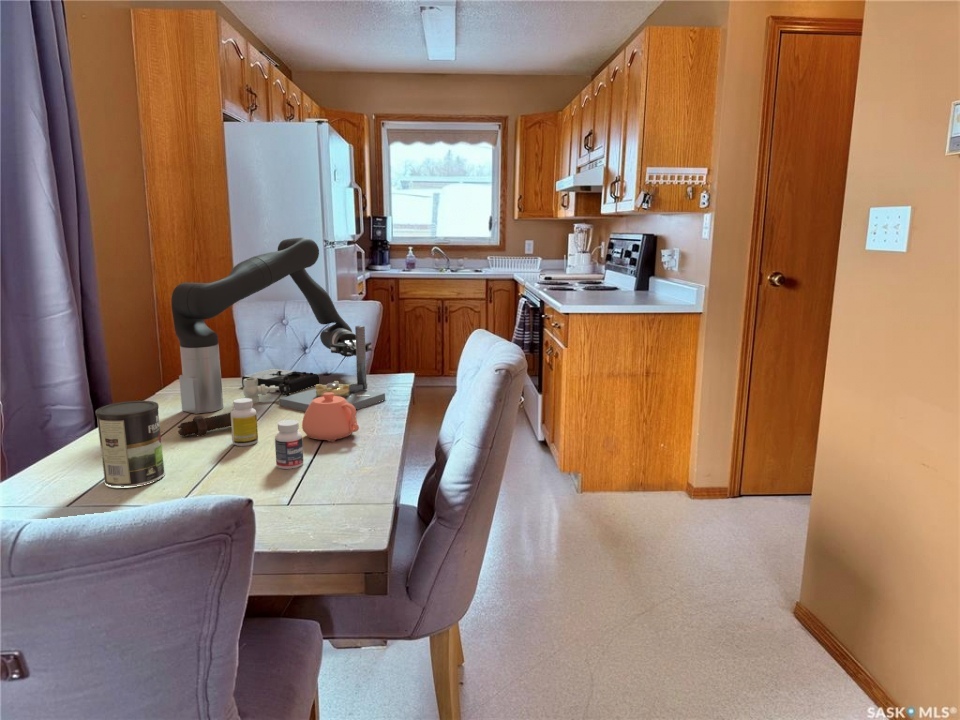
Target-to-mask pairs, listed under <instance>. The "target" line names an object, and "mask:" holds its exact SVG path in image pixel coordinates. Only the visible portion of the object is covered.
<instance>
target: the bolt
mask: <svg viewBox="0 0 960 720" xmlns="http://www.w3.org/2000/svg"><path fill="white" fill-rule="evenodd" d="M231 412H232V411H230V412H227V413H222V414H217V415H214V416H210V417H209V416H208V417H204V416H203V415H195V416H193V418H192V420H191V421H185V422H181V423H180V424H179V425H178V426H177V429H179V430H178V431H177V433H178V435H179V436H181V437H182V438H183V437H186V436H187V437H188V436H192V435H195V436H197V435H198V436H197V437H203V436H202V435H204V436H206V435H207V433H208V432H210V431H214V430H219V429H225V428H228V427H231Z"/></svg>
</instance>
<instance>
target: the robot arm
mask: <svg viewBox="0 0 960 720" xmlns="http://www.w3.org/2000/svg"><path fill="white" fill-rule="evenodd" d="M319 257H320V249H319V246H318V244H317V243H316V242H315V241H314V240H313V239H312V238H310V237H309V238H308V237H304V236H303V237H294V238H287V239H283V240H282V241H280V243H278V246H277V251H271V252H266V253H262V254H258V255H255V256H252V257H249V258H247V259H245V260H242V261H241V262H239V263H237V264H236V265H234V267H233V268H232V269H231V271H230V272H229V275H227V276H226V277H224V278H222V279H218V280H215V281H212V282H182V283H179V284H178V285H176V286H175V288H173V291H172V294H171V299H170V300H171V301H170V303H171V313H172V320H173V326H174V332H175V335H176V338H178V342H179V349H180V361H181V362H180V363H181V373H182V374H180V375H179V376H178V379H179V389H180V390H179V391H180V401H181V411H183V412H187V413H190V414H194V415H198V414H204V413H205V414H206V413H212V412H217V411H219V410H222V409H223V408H224V398H223V397H224V396H223V386H222V385H223V383H222V373H221V371H222V370H221V358H220V348H219V347H220V346H219V344H220V343H219V335H218V334H217V332H216V331H214V330H212V329H211V328H210V327H208V326H207V324H206V322H205V320H210V319H213V318H215V317H217V316H219V315H220V314H221V313H223V312H225V311H226V310H227V309H229V308H230V307H232V306H233V305H234V304H236V303H237V302H239V301H242V300H244V299H246V298H249V297H250V296H251V295H254V294H256V293H258V292H261V291H262V290H264V289H266V288H268V287H270V286H271V285H274V284H275V283H277V282H279V281H281V280H282V279H284V278H286V277H287V276H290V278H291V279H292V281H293V282H294V283H295V285H296V286H297V287H298V289H299V291H300V292H301V293H302V295H303V297H304V298H305V299H306V302H307V303H308V305H309V306H310V309H311V311H312V312H313V314H314V317H315V318H316V320H317V322H318V323H319V324H320V325H329V324H332V325H330V326H328V327H326V328H324V329H322V331H321V332H320V334H319V339H320V342H321V343H322V345H323V346H324V347H325V348H327V349H329V350H330V353H332V354H339V355H341V356H342V357H346V358H350V357H353V356H355V357H356V333H353V330H352V328H351V327H350V325H349V324H348V323H347V322H346V321H345V319H343V318H342V317H341V315H340V314H339V312H338V311H337V308H336V307H335V304H334V302H333V300H332V299H331V296H330V295H329V294H328V292H327V291H326V290H325V288H324V287H322V286H321V285H320V284H319V283H317V281H315V279H313V277H312V276H311V275H310V274H309V273H308V271H307V270H306V269H307V268H310V267H312V266H313V265H314V266H315V264H316V262H317V261H318V259H319ZM372 349H373V348H372V341H367V342H366V341H365V350H366V353H367V352H370V351H373V350H372Z"/></svg>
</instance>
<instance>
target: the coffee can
mask: <svg viewBox="0 0 960 720" xmlns="http://www.w3.org/2000/svg"><path fill="white" fill-rule="evenodd" d="M159 407H160V406H159V403H158V402H156V401H152V400H151V401H150V400H128V401H122V402H116V403H110V404H107V405H103V406H101V407H98V408H97V409H96V410H95V416H96V419H97V429H98V439H99V444H100V445H99V446H100V453H101V462H102V468H103V477H104V482H105V483H106V484H108V485H111V486H121V487H124V486H137V485H144V484H147V483H150V482H153V481H156V480H158V479H160V478H161V477H163V475H164V474H166V472H165V467H164V466H165V465H164V455H163V445H162V435H161V423H160V415H159ZM163 478H164V477H163ZM160 480H161V479H160Z"/></svg>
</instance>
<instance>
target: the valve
mask: <svg viewBox="0 0 960 720" xmlns="http://www.w3.org/2000/svg"><path fill="white" fill-rule="evenodd" d="M283 381H285V382H281V383H280V385H278V387H275V385H273V386H270V387H267V386H265V384H262V385H261V386H257V385H258V379H257V378H246V379H244V380H243V386H244V387H243V386H242V388H243V389H242V393H243V395H244V397H243V398H249V399H252V403H253V404H258V403H259V402H260V395H261V396H266V394H267V393H275V390H279V392H278V393H280V394H281V396H282V397H283V396H284V397H287V396H291V394H289V392H290V388H289V380H288V376H284V378H283ZM283 391H284V393H283Z"/></svg>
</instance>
